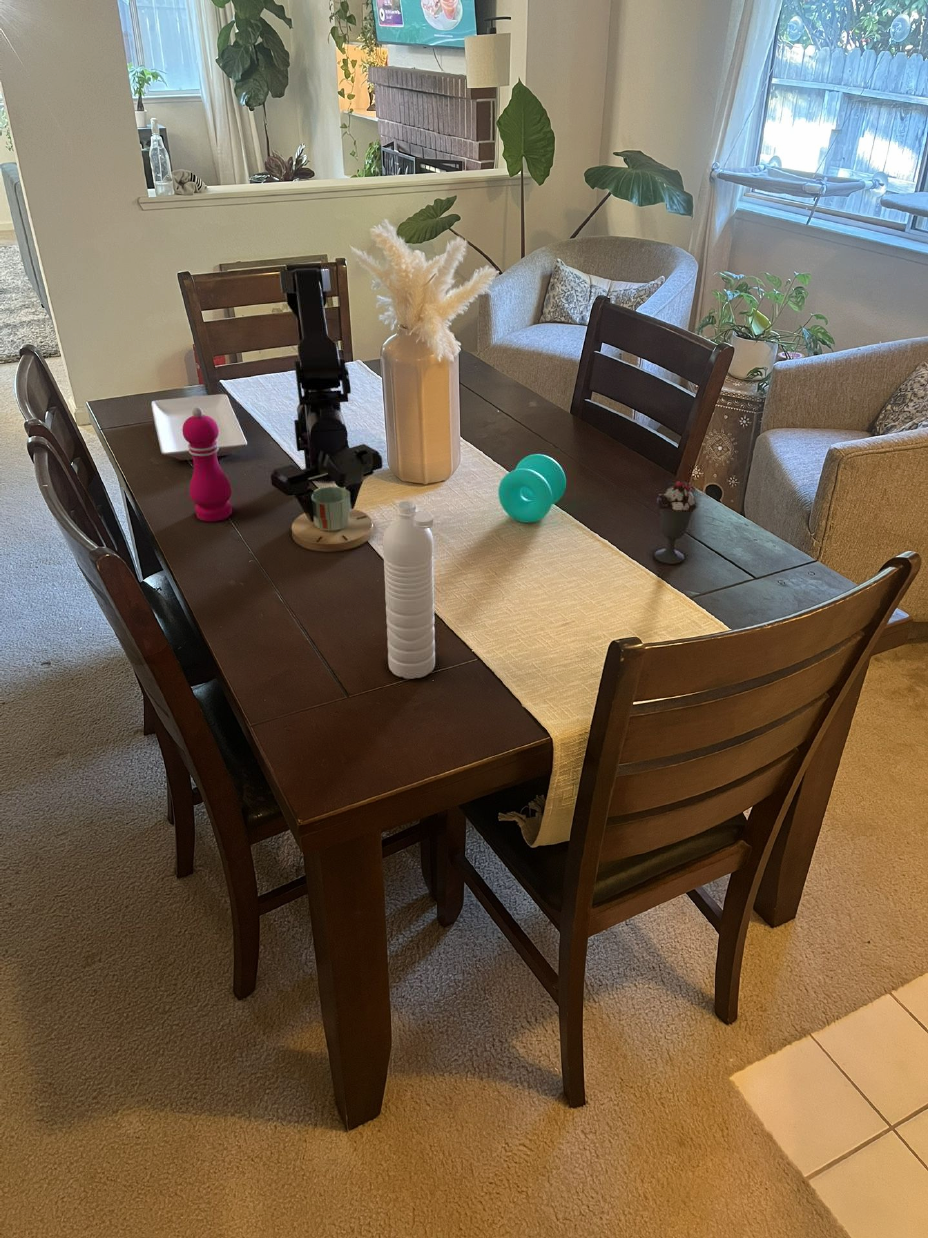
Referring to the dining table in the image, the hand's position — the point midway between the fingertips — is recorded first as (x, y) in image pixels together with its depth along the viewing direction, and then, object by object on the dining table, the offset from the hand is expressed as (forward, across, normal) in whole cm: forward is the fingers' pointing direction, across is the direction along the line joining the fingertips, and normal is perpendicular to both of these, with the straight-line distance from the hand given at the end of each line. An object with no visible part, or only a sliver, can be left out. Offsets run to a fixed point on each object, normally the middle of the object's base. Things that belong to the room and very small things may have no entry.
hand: (331, 514), depth 158 cm
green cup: (+2, 0, 0) cm, 2 cm away
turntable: (+3, 0, 0) cm, 3 cm away
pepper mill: (+4, -13, +19) cm, 23 cm away
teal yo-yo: (+4, +32, -16) cm, 36 cm away
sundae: (+4, +40, -42) cm, 58 cm away
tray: (+4, +1, +55) cm, 55 cm away
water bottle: (+4, -12, -42) cm, 44 cm away
